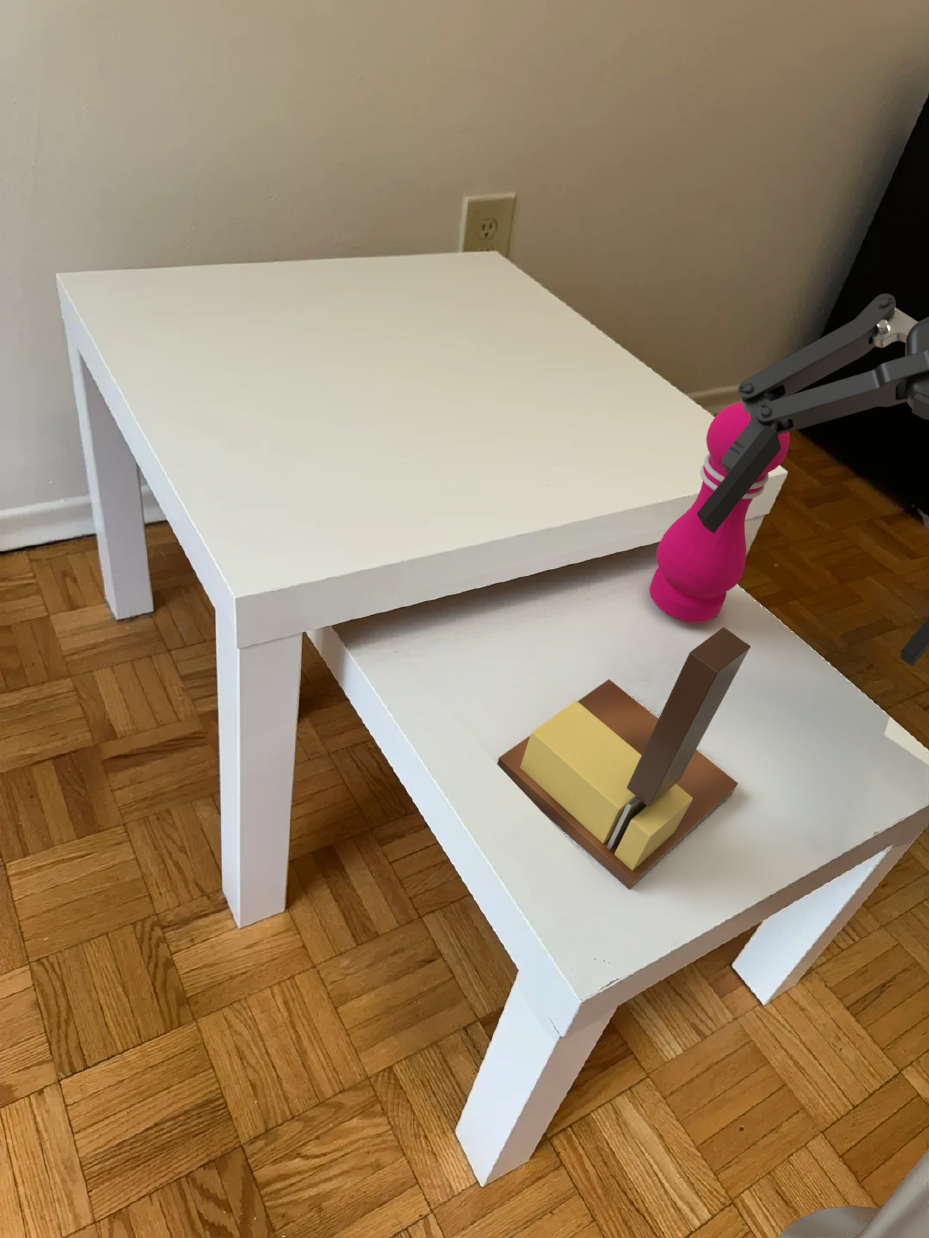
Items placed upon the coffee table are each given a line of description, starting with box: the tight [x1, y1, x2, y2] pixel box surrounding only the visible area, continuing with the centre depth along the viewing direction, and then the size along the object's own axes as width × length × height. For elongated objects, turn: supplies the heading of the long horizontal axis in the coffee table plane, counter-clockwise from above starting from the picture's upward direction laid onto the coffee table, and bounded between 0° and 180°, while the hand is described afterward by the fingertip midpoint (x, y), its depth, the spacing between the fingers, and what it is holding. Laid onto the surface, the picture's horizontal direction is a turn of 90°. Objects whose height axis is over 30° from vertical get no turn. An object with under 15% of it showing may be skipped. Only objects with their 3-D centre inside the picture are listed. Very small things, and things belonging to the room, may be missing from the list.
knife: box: [606, 626, 751, 850], centre depth 55 cm, size 2×5×17 cm, turn 134°
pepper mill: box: [649, 401, 791, 623], centre depth 74 cm, size 7×7×20 cm
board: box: [496, 678, 739, 890], centre depth 65 cm, size 12×12×2 cm
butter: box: [520, 700, 693, 871], centre depth 61 cm, size 10×4×4 cm, turn 44°
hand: (800, 588), depth 53 cm, fingers open, 13 cm apart
